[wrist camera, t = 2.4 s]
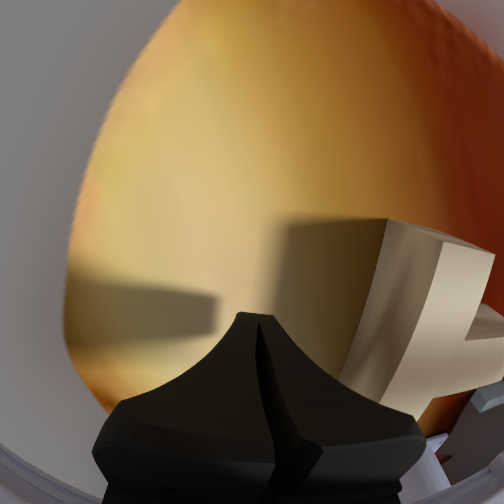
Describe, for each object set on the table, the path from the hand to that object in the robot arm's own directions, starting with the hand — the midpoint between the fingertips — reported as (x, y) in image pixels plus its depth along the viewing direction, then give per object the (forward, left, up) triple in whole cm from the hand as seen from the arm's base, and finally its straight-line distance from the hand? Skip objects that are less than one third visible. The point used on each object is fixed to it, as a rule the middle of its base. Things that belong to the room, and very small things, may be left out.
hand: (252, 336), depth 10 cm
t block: (0, -9, -2) cm, 9 cm away
